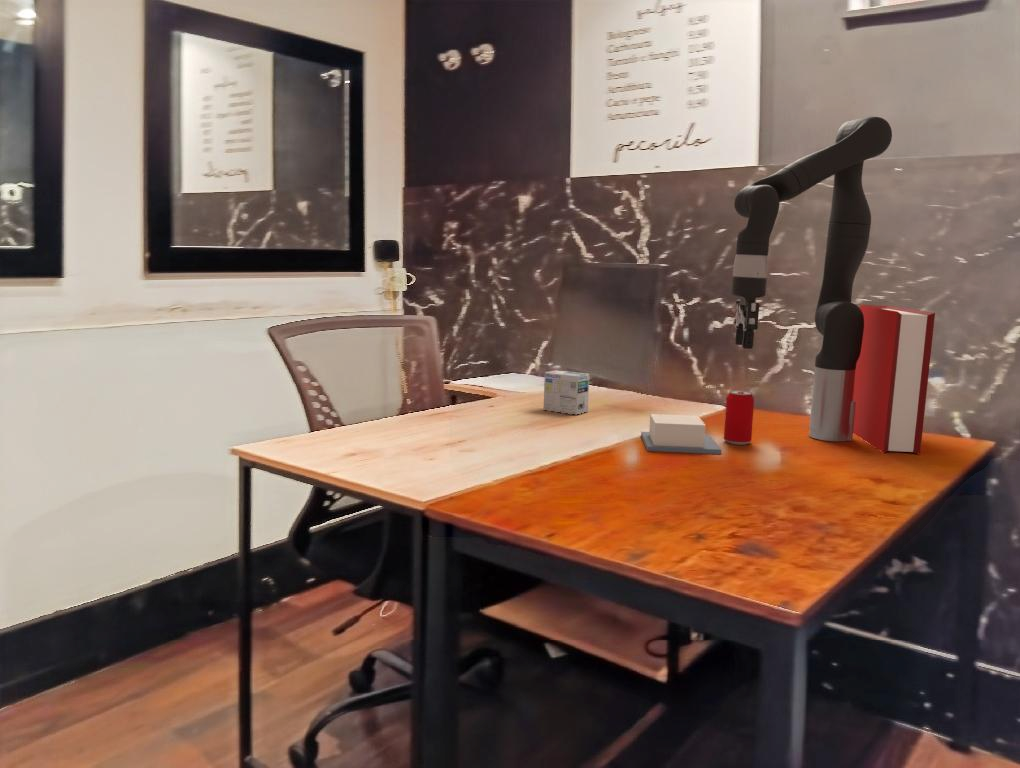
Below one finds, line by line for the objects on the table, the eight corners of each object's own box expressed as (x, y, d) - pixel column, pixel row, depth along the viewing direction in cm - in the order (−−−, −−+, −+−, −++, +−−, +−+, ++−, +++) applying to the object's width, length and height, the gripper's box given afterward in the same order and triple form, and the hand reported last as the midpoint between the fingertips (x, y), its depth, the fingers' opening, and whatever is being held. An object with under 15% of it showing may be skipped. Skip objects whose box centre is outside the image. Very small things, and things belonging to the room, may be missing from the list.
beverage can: (748, 440, 199) (752, 390, 197) (753, 446, 193) (757, 394, 191) (721, 439, 199) (725, 389, 197) (725, 444, 193) (729, 393, 191)
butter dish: (708, 438, 199) (710, 413, 198) (721, 454, 183) (723, 427, 183) (641, 435, 200) (642, 410, 199) (647, 450, 184) (649, 424, 184)
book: (920, 455, 189) (935, 312, 184) (883, 453, 190) (897, 311, 185) (878, 430, 216) (890, 305, 211) (846, 429, 216) (858, 304, 212)
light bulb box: (588, 412, 229) (590, 373, 227) (577, 415, 223) (578, 375, 222) (554, 407, 235) (555, 369, 233) (542, 410, 229) (543, 371, 227)
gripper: (774, 277, 183) (767, 350, 186) (759, 275, 197) (753, 344, 200) (739, 275, 184) (732, 349, 186) (727, 274, 198) (721, 342, 200)
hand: (743, 346), depth 193 cm, fingers open, 8 cm apart
